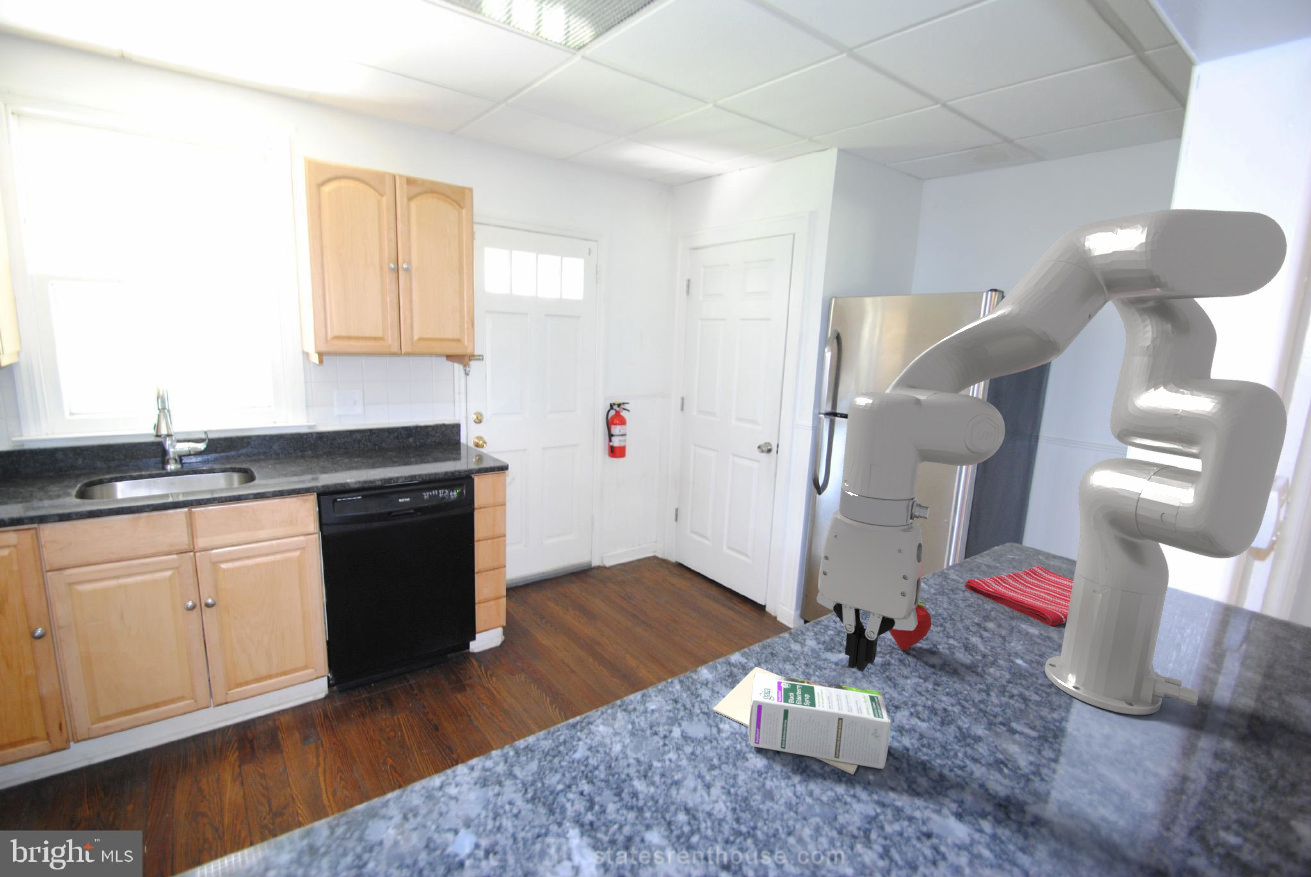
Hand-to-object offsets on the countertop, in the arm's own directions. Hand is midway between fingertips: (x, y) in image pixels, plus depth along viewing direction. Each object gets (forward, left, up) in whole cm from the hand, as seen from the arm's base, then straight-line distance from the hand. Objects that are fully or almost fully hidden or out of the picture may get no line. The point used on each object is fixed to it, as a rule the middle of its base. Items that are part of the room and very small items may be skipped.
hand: (859, 664), depth 65 cm
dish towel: (-17, -63, -10) cm, 66 cm away
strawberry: (0, -25, -9) cm, 27 cm away
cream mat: (+6, 0, -9) cm, 11 cm away
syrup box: (-4, +1, -6) cm, 7 cm away
